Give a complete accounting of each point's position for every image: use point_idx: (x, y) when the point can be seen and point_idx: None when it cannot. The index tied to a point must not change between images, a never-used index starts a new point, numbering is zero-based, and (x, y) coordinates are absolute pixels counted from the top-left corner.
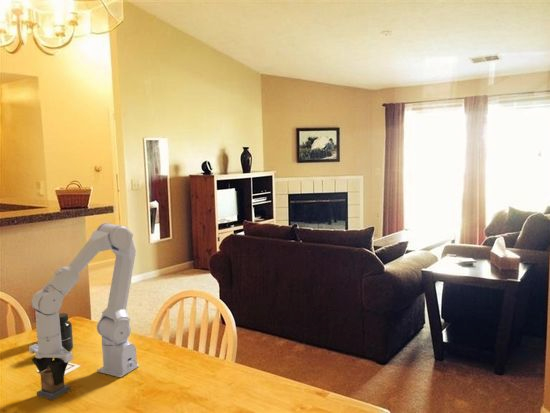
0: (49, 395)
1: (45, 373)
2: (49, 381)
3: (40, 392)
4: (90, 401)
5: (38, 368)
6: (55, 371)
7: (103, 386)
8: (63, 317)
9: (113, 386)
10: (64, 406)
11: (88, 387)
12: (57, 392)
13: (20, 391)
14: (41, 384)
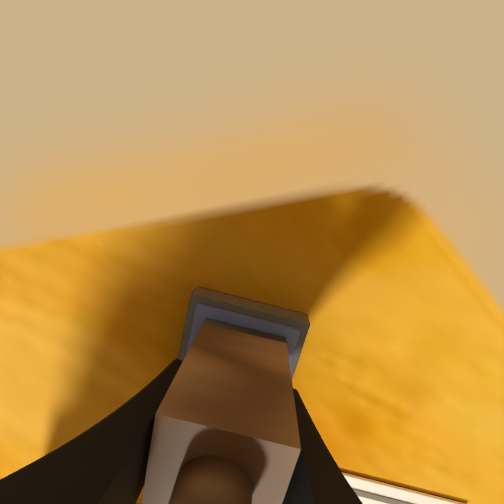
0: (215, 305)
1: (228, 429)
2: (201, 367)
3: (287, 325)
4: (16, 305)
5: (343, 496)
6: (59, 447)
7: (57, 419)
8: None
9: (16, 423)
10: (99, 249)
11: (114, 406)
12: (190, 334)
13: (425, 339)
14: (287, 360)
